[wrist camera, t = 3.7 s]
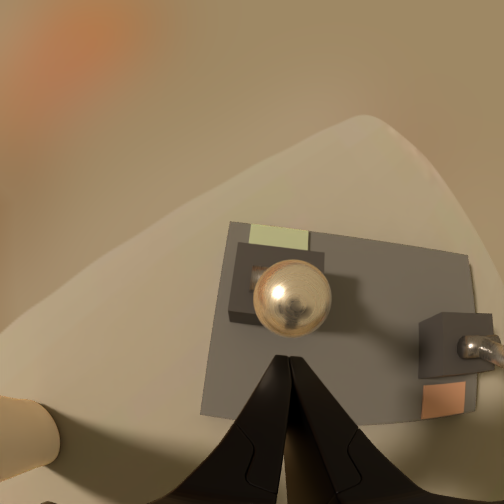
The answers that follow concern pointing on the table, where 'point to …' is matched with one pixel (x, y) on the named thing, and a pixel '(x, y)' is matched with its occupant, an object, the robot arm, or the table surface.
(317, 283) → the metallic ball-topped lever
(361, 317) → the switch board
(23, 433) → the beige cylinder
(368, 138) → the table surface
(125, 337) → the table surface
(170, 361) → the table surface
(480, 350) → the silver lever handle
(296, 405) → the robot arm
